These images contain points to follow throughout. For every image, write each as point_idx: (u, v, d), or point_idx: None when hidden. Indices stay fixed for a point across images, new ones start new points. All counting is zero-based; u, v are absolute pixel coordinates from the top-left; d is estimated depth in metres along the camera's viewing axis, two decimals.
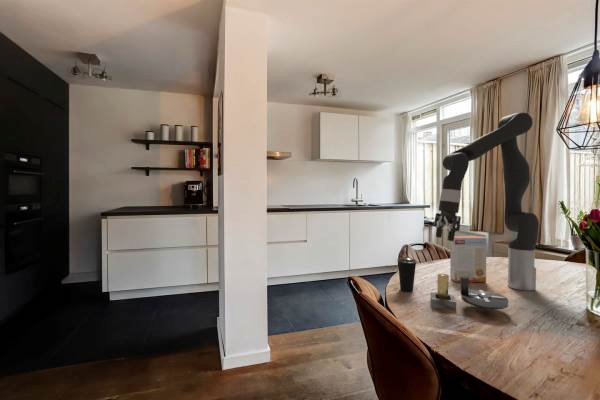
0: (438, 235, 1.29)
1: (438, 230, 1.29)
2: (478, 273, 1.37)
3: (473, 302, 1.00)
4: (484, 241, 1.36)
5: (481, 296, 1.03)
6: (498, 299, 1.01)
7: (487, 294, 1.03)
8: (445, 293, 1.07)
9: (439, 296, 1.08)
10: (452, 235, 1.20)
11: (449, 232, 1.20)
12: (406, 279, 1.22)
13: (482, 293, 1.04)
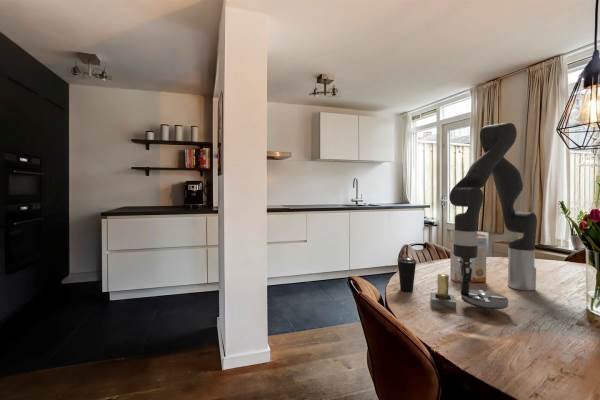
0: None
1: None
2: (478, 273, 1.37)
3: (473, 302, 1.00)
4: (484, 241, 1.36)
5: (481, 296, 1.03)
6: (498, 299, 1.01)
7: (487, 294, 1.03)
8: (445, 293, 1.07)
9: (439, 296, 1.08)
10: (465, 286, 1.04)
11: (462, 283, 1.05)
12: (406, 279, 1.22)
13: (482, 293, 1.04)
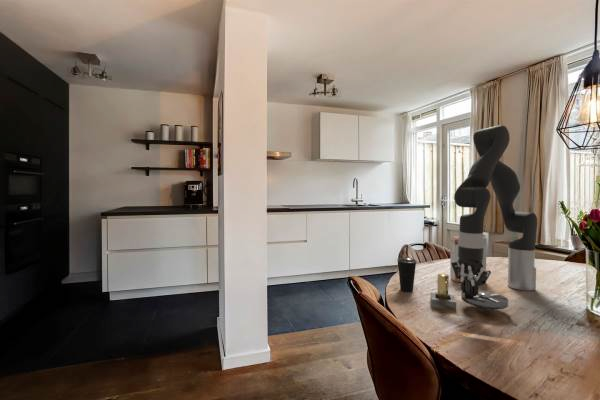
0: None
1: (464, 284, 1.04)
2: None
3: (487, 305, 0.98)
4: (484, 241, 1.36)
5: (485, 297, 1.02)
6: (497, 297, 1.03)
7: (487, 293, 1.04)
8: (445, 293, 1.07)
9: (439, 296, 1.08)
10: (476, 290, 1.00)
11: (472, 287, 1.01)
12: (406, 279, 1.22)
13: (482, 293, 1.04)
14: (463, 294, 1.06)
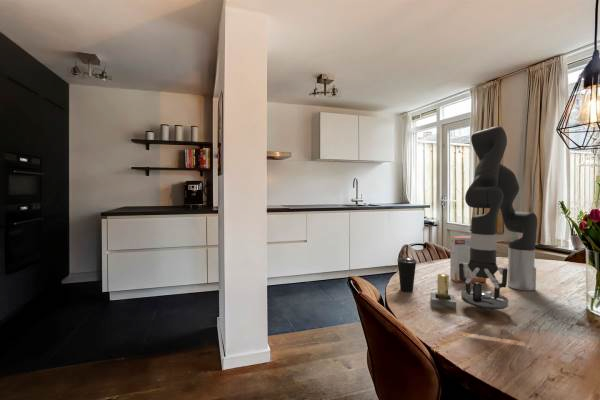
0: (470, 291, 1.01)
1: (470, 285, 1.01)
2: None
3: (498, 306, 0.97)
4: None
5: (488, 297, 1.02)
6: (492, 294, 1.06)
7: (486, 293, 1.04)
8: (445, 293, 1.07)
9: (439, 296, 1.08)
10: (499, 292, 0.96)
11: (496, 289, 0.96)
12: (406, 279, 1.22)
13: (483, 293, 1.04)
14: (467, 297, 1.03)
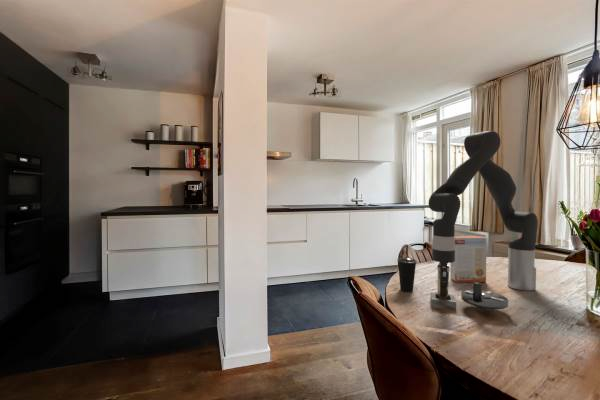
0: None
1: None
2: (478, 273, 1.37)
3: (498, 306, 0.97)
4: (484, 241, 1.36)
5: (488, 297, 1.02)
6: (492, 294, 1.06)
7: (486, 293, 1.04)
8: None
9: (439, 296, 1.08)
10: (443, 290, 1.06)
11: (440, 287, 1.07)
12: (406, 279, 1.22)
13: (483, 293, 1.04)
14: (467, 297, 1.03)
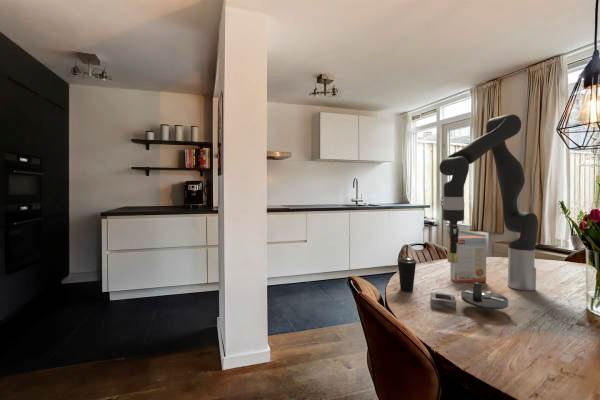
0: None
1: None
2: (478, 273, 1.37)
3: (498, 306, 0.97)
4: (484, 241, 1.36)
5: (488, 297, 1.02)
6: (492, 294, 1.06)
7: (486, 293, 1.04)
8: None
9: (449, 253, 1.16)
10: (453, 247, 1.14)
11: (450, 244, 1.15)
12: (406, 279, 1.22)
13: (483, 293, 1.04)
14: (467, 297, 1.03)
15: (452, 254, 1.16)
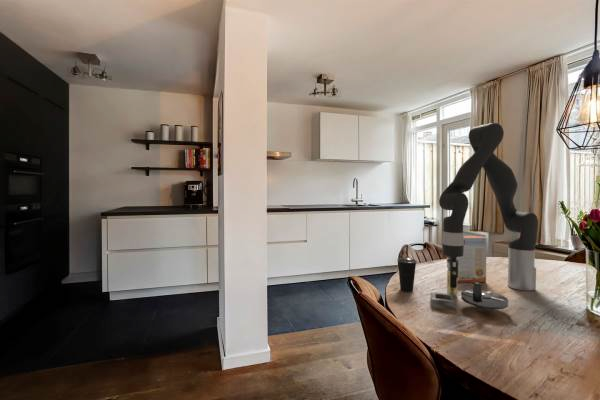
0: None
1: None
2: (478, 273, 1.37)
3: (498, 306, 0.97)
4: (484, 241, 1.36)
5: (488, 297, 1.02)
6: (492, 294, 1.06)
7: (486, 293, 1.04)
8: None
9: (448, 290, 1.17)
10: (453, 282, 1.13)
11: (450, 278, 1.14)
12: (406, 279, 1.22)
13: (483, 293, 1.04)
14: (467, 297, 1.03)
15: (451, 291, 1.16)
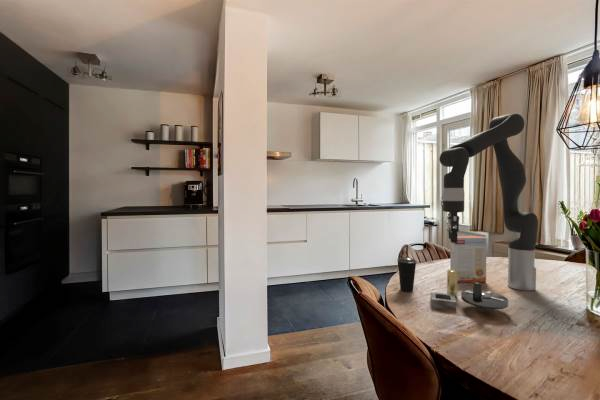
0: (450, 237, 1.21)
1: (450, 231, 1.21)
2: (478, 273, 1.37)
3: (498, 306, 0.97)
4: (484, 241, 1.36)
5: (488, 297, 1.02)
6: (492, 294, 1.06)
7: (486, 293, 1.04)
8: (454, 287, 1.16)
9: (448, 290, 1.17)
10: (453, 236, 1.12)
11: (450, 233, 1.13)
12: (406, 279, 1.22)
13: (483, 293, 1.04)
14: (467, 297, 1.03)
15: (451, 291, 1.16)
